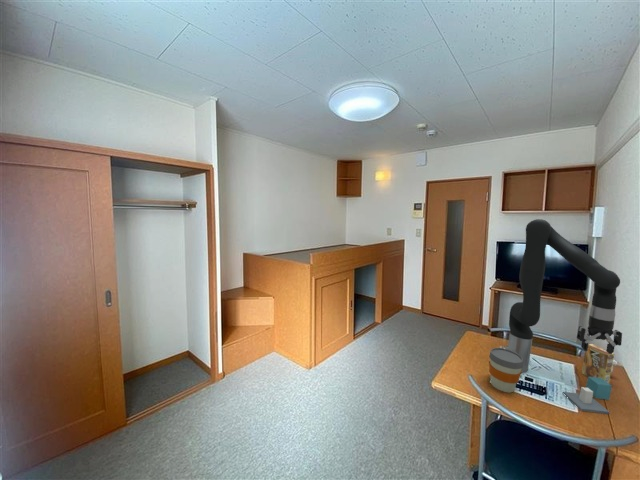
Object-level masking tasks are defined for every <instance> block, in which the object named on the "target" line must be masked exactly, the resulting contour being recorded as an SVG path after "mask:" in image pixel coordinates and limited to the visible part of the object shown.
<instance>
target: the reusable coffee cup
mask: <svg viewBox="0 0 640 480" xmlns="http://www.w3.org/2000/svg"><path fill="white" fill-rule="evenodd" d="M488 366H489V367H488V368H489V374H490V384H491V385H492V387H493V388H495V389H497V390H498V391H501V392H503V393H513V392H515V389H516V386H517V383H519V381H520V378H521V374H522V372H521V368H522V367H523V358H522V357H521V356H520V355H519V354H517V353H515V352H513V351H510V350H507V349H506V348H502V347H493V348H491V349H490V352H489V361H488Z"/></svg>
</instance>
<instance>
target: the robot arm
mask: <svg viewBox="0 0 640 480" xmlns="http://www.w3.org/2000/svg"><path fill="white" fill-rule="evenodd" d="M547 246H549V247H550V248H552V249H553V250H554V251H556V252H557V253H558V255H560V256H561V257H562V258H563V259H564V260H565V261H567V262H568V263H569V264H570V265H572V266H573V267H575V268H576V269H577V270H578V271H580V272H581V273H583V274H584V275H585V276H587V277H588V278H589V280H591V281H592V282H593V295H592V300H591V306H590V308H589V315H588V323H587V324H588V327H583V326H578V329H577V334H576V339H577V340H579V341H580V342H581V344H580V345H581V346H580V347H581V349H582V350H583V351H584V352H585V351H588V344H589V343H590V342H591V341H594V340H603V341H606V342H607V344H606V349H605V350H606V351H607V353H609V354H612V353H614V352H615V347H616V346H622V339H623V332H621V331H619V330H618V329H614V326H615V321H616V320H615V318H616V305H617V295H616V294H617V293H616V292H617V288H618V287H619V286H620V284H621V279H620V277H619V276H618V274H617V273H616V272H614V271H612V270H610V269H608V268H606V267H605V266H604V265H602V264H601V263H599V262H598V261H597V260H596V259H595V258H594V257H593V256H591V255H589V254H588V253H587V252H586V251H584V250H582V248H580V247H578V246H576V245H575V244H574V243H572V242H570V241H569V240H568V239H566V238H565V237H564V236H562V235H561V234H560V233H559V232H557V230H555V228H553V227H552V226H551V223H550V222H548V221H547V220H546V219H545V220H544V219H542V218H541V219H539V218H538V219H537V218H536V219H534V220H531V221H529V222H528V223H527V224H526V226H525V249H524V252H523V256H522V259H521V263H520V269H519V275H518V277H519V285H520V287H521V291H522V295H523V296H522V297H523V298H522V302H521V301H520V302H519V301H518V302H515V303H513V305H512V306H511V308H510V310H509V318H508V327H509V336H508V344H507V345H506V346H505V349H507V350H510V351H513V352H515V353H517V354H519V355H520V356H521V357H522V358H523V367H522V368H521V373H528V371H529V365H530V360H531V359H530V358H531V353H532V344H533V339H534V333H533V330H532V329H531V327H533V326H536V325H537V324H538V323H539V321H540V317H541V300H542V299H541V298H542V291H543V284H544V278H545V271H546V248H547ZM612 335H613V339H612V337H611V336H612Z"/></svg>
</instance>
